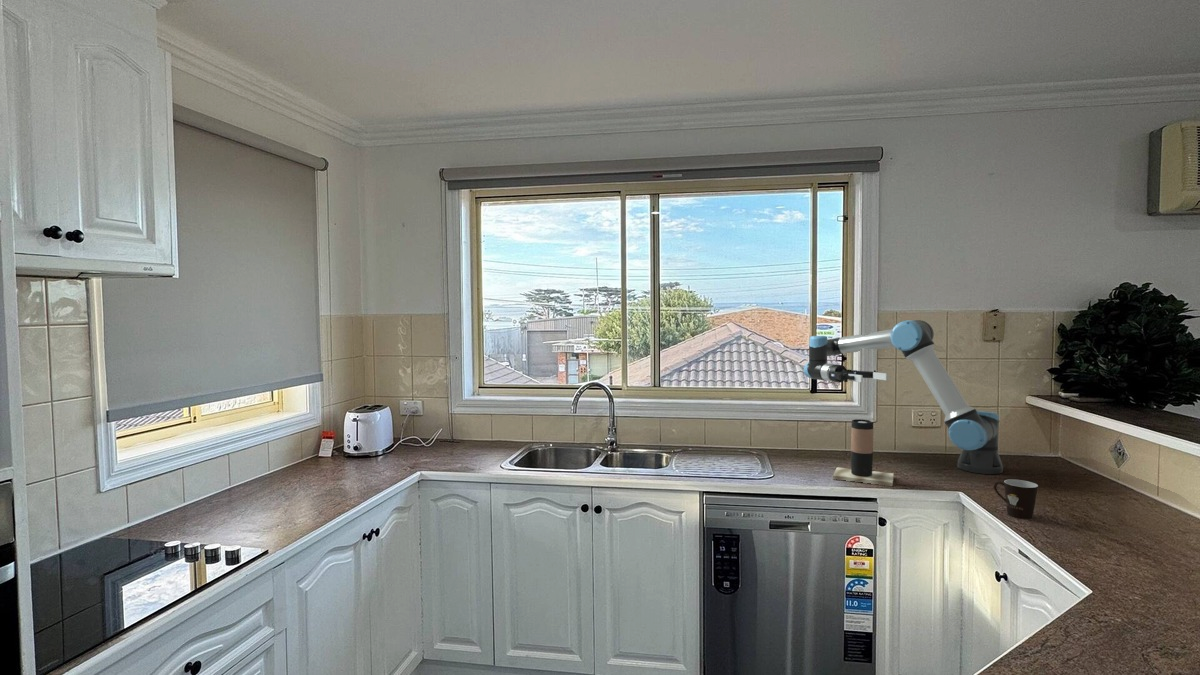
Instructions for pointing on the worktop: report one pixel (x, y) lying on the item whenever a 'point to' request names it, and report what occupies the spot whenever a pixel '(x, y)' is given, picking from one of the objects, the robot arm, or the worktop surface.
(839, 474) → the dock pad
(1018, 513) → the coffee mug
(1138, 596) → the worktop surface
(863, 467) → the travel mug
